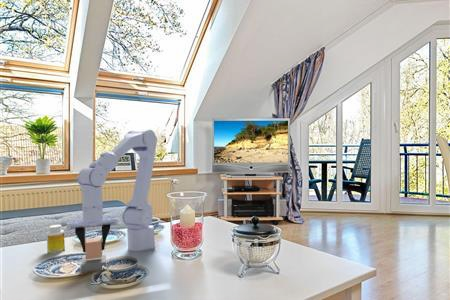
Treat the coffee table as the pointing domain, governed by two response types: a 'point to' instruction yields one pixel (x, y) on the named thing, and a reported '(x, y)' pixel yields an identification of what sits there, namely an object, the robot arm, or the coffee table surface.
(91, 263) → the gray slab
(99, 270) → the walnut slab
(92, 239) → the terracotta block
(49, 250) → the supplement bottle
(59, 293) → the coffee table surface
